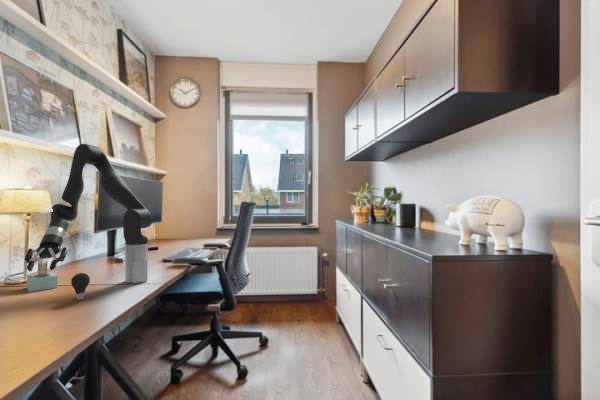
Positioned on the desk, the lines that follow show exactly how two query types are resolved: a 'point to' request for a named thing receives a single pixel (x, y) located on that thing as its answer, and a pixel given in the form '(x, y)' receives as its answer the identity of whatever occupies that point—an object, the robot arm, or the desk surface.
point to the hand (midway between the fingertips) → (40, 269)
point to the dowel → (42, 267)
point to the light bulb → (80, 284)
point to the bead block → (41, 282)
